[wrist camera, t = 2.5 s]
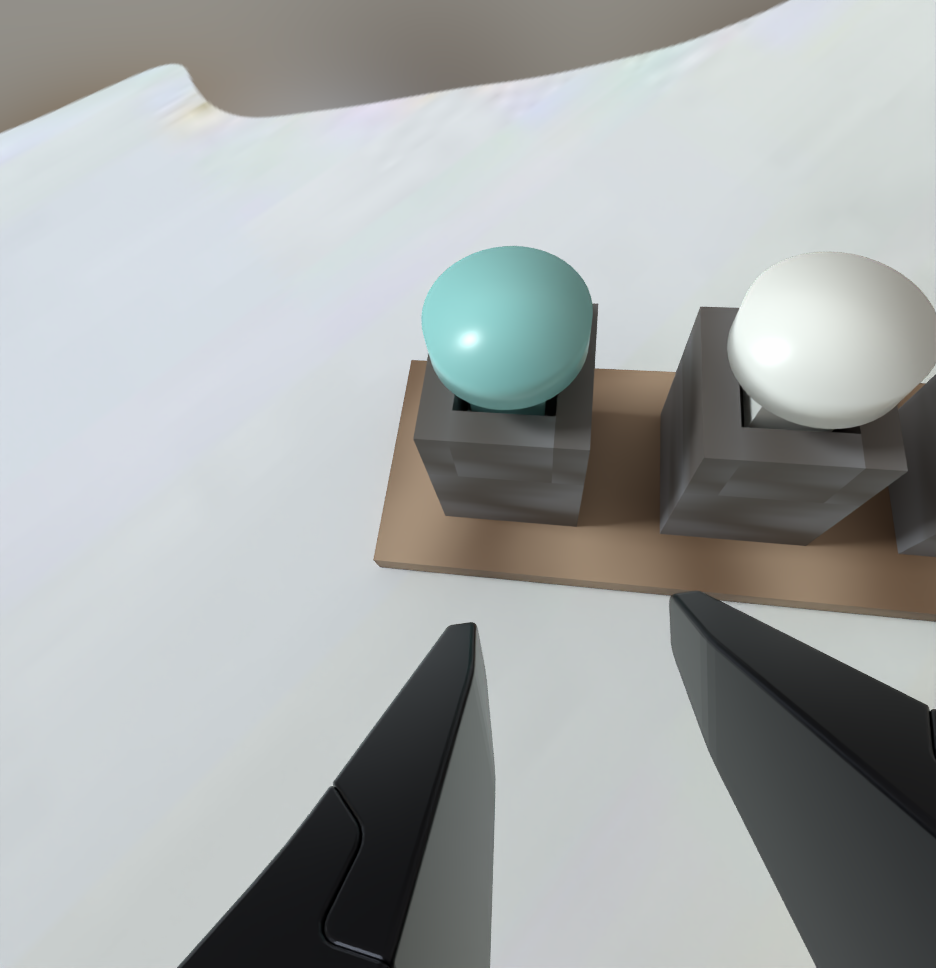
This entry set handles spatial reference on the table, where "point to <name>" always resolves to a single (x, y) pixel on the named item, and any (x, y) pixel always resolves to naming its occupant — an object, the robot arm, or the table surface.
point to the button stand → (668, 490)
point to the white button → (829, 342)
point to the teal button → (508, 328)
